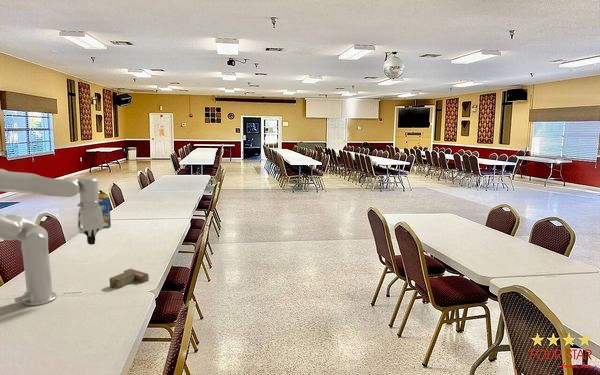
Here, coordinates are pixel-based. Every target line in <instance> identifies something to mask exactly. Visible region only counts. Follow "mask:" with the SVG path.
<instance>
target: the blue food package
mask: <svg viewBox="0 0 600 375" xmlns="http://www.w3.org/2000/svg"><path fill="white" fill-rule="evenodd" d="M98 197H99V207H101V210H102V214H103V221H104V226H103V227H102V228H103V229H110V228H111V226H112V221H111V208H110V207H111V206H110V205H111V204H110V198H109V194H108V193H105V194H98Z"/></svg>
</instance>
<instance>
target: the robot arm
mask: <svg viewBox="0 0 600 375" xmlns="http://www.w3.org/2000/svg"><path fill="white" fill-rule="evenodd" d="M0 192H4V193H7V192H8V193H21V194H32V195H39V196H40V195H41V196H49V197H57V198H58V197H62V198H72V197H75V196H77V195H78V194H79V203H77V208H78V212H77V213H78V214H77V228H78V234H83V235H85V236H86V242H87V244H88V245H95V244H96V236H97V233H99V231H101V230H103V229H104V228H102V227H103V226H104V221H103V214H102V210H101V207H99V197H98V195H99V181H98V178H96V177H89V176H88V177H83V178H82V177H72V176H71V177H70V176H69V177H65V178H63V179H61V178H50V177H46V176H41V175H39V174H35V173H32V172H30V173H29V172H18V171H9V170H6V169H4V168H0ZM0 239H2V240H4V241H14V240H17V241H19V242H21V244H20V245H21V246H20V247H21V253H22V259H23V260H22V261H23V268H24V269H23V270H24V279H25V285H26V286H25V288H26V291H24V292H23V294H22V295H21V296H17V297H15V298H14V299H13V300H14V302H15V303H19V302H21V303H23V304H24V305H25V306H40V305H45V304H47V303H50V302H52V301H54V300H56V298H57V297H58V294H57V292H53V283H52V273H51V272H52V271H51V265H50V264H51V263H50V254H49V252H50V251H49V234H48V231H47V230H46V229H45V228H44V227H43V226H41V225H39V224H37V223H34V222H32V221H31V220H28V219H26V218H24V217H21V216H19V215H16V214H7V215H3V214H2V213H1V214H0Z"/></svg>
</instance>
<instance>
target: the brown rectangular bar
mask: <svg viewBox="0 0 600 375" xmlns="http://www.w3.org/2000/svg"><path fill="white" fill-rule="evenodd" d="M125 272H133V273H135V281H134V282H137V283H140V284H143V283H146V282H149V281H150V280H149V279H150V277H149V273H146V272H143V271H140V270H137V269H133V268H128V269H125V270H123V273H125Z"/></svg>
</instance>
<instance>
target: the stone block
mask: <svg viewBox="0 0 600 375" xmlns="http://www.w3.org/2000/svg"><path fill="white" fill-rule="evenodd" d="M134 282H136V281H135V273H133V272H125V273H124V272H122V273H119V274H116V275H113V276H112V277H109V287H110V288H112V289H120V288H123V287H125V286H128V285H130V284H132V283H134Z"/></svg>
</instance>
